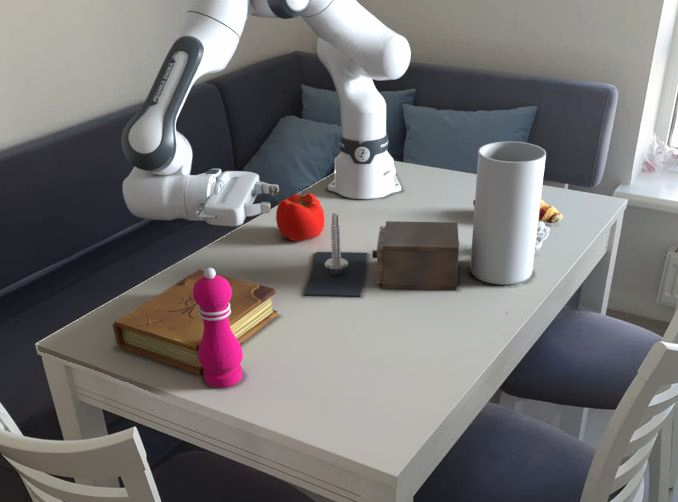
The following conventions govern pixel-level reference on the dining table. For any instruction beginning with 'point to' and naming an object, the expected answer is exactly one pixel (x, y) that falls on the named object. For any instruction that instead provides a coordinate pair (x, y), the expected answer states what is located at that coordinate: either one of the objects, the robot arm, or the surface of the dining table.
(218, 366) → the pepper mill
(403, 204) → the dining table surface
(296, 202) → the tomato
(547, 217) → the croissant
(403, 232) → the cabinet
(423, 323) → the dining table surface
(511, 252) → the cylinder vase
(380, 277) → the drawer
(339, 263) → the screw
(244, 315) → the diary
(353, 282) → the mat
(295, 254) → the dining table surface
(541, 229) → the frog figurine
